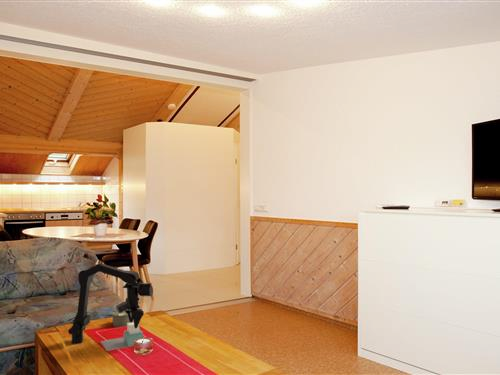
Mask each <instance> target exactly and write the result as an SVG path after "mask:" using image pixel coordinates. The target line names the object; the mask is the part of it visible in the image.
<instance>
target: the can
mask: <svg viewBox="0 0 500 375" xmlns="http://www.w3.org/2000/svg"><path fill="white" fill-rule="evenodd" d="M111 316H112V326H113V327H114V328H115V327H116V328H123V327H127V323H130V322H129V318H128V315H127V313H126V312H125V311H123V312H122V313H119V312H118V311H113V312H112V313H111Z"/></svg>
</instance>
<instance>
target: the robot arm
mask: <svg viewBox="0 0 500 375" xmlns="http://www.w3.org/2000/svg"><path fill="white" fill-rule="evenodd" d="M99 272H100V273H101V274H102V273H103V274H106V275H109V276H112V277H114V278H118V279H120V280H121V281H122V282H124V283H125V284H124V285H123V286H122V288H123V289H126V297H125V301H122V302H120V303H119V304H117V305H115V309H116V310H117V311H118V312H119V313H122V312H123V311H125V312H126V313H127V315H128V318H129V322H130V323H131V322H134V327H135V328H137V327H138V324H139V325H140V322H141V320H142V318H143V316H144V315H145V314H144V310H143V309H141V307H140V306H141V305H140V304H139V301H140V297H153V294H154V288H153V284H152V283H151V282H148V283H147V282H146V283H144V281H143V280H142V278H141V277H140V274H139V273H138V272H137V271H135V270H124V269H120V268H117V267H114V266H111V265H107V264H105V263H103V262H99V263H97V264H95V265H94V266H92V267H87V268H84V269H83V270H80V271H79V272H78V275H77V277H78V278H77V279H78V284H79V294H78V304H77V312H76V315H75V317H74V318H73V321H72V326H71V327H69V329H68V330H67V333H68V335H71V343H72V344H73V345H74V344H75V345H80V344H82V343H83V342H84V330H86V328H87V326H88V325H89V323H90V322H91V321H90V319H91V315H90V314H88V312H87V311H88V303H89V297H90V296H89V295H90V287H91V284H92V282H93V280H94V276H95V275H96V274H98V273H99ZM139 296H140V297H139Z"/></svg>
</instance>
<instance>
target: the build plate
mask: <svg viewBox="0 0 500 375" xmlns="http://www.w3.org/2000/svg"><path fill="white" fill-rule="evenodd" d="M138 339H143V340H144V332H143V331H142V330H141V329H140V328H139V333H134V334H128V333H127V330H124V331H123V336H122V337H116V338H111V339H107V340H100V343H101V345H102V346H103V348H104V349H105V351H106V352H109V351H113V350H119V349H124V348H129V347H133V346H134V341H135V340H138ZM134 347H135V346H134Z"/></svg>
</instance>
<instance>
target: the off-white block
mask: <svg viewBox="0 0 500 375" xmlns="http://www.w3.org/2000/svg"><path fill="white" fill-rule="evenodd" d="M139 329H140V323H139V324H138V327H137V328H135V327H134V322H131V323H127V326H126V331H127V333H128V334H134V333H139Z"/></svg>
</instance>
